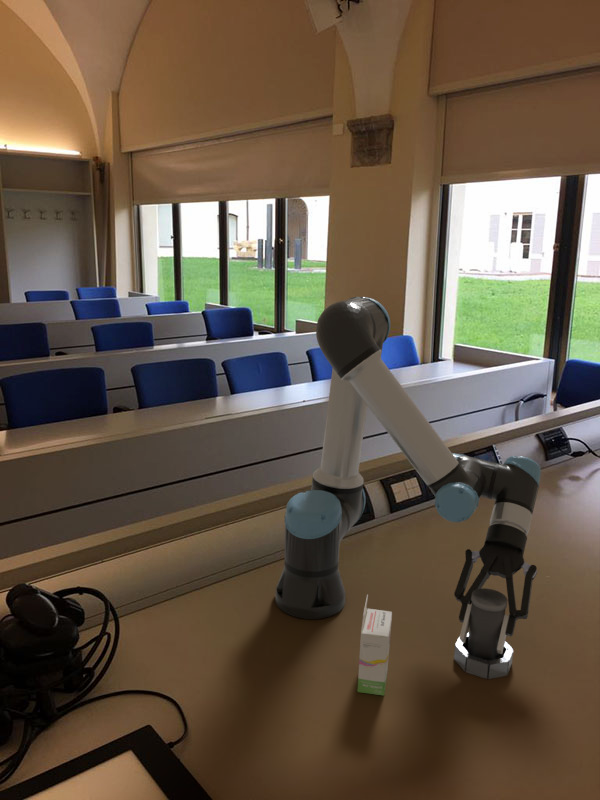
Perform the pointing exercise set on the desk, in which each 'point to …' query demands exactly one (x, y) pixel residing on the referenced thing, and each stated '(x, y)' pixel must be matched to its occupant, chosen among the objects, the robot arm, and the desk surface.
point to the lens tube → (486, 623)
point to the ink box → (374, 651)
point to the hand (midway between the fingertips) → (480, 645)
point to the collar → (483, 661)
